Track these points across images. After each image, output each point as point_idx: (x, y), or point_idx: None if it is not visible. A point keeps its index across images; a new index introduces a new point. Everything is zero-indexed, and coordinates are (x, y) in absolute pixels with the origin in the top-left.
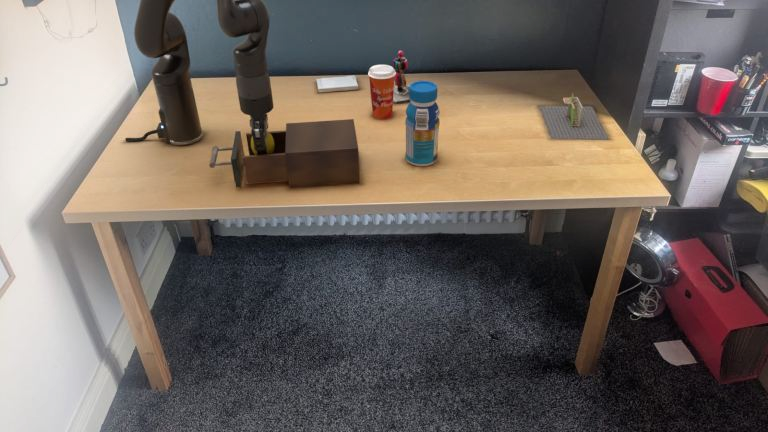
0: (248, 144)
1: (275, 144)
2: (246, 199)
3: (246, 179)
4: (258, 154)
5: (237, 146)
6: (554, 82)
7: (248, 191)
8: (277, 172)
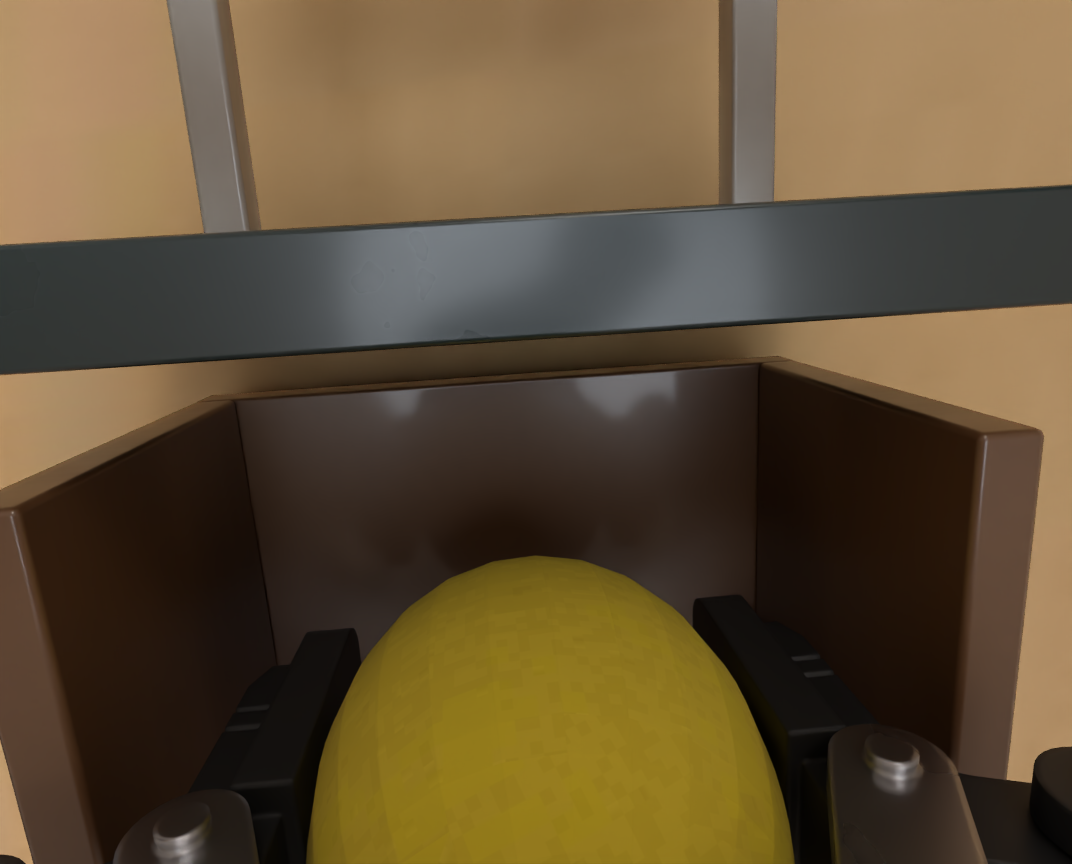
0: (852, 406)
1: None
2: (22, 396)
3: (188, 406)
4: (275, 717)
5: (404, 338)
6: None
7: (180, 396)
8: None
